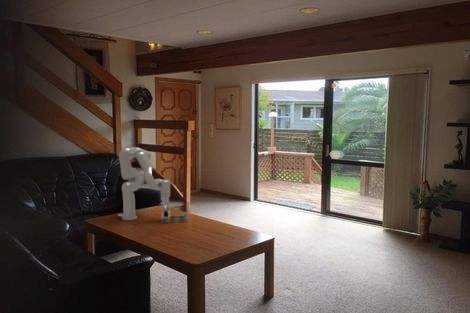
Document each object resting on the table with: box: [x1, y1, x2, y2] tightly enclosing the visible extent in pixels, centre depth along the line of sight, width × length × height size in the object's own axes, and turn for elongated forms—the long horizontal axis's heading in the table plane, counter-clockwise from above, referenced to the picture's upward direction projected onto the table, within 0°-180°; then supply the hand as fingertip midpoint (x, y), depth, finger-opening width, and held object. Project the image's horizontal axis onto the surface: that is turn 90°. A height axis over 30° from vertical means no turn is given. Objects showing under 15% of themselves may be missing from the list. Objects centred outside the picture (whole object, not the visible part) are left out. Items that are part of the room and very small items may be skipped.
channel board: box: [161, 212, 188, 224], centre depth 320 cm, size 20×12×6 cm, turn 100°
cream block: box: [161, 210, 171, 220], centre depth 319 cm, size 7×4×6 cm, turn 100°
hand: (166, 215), depth 319 cm, fingers open, 9 cm apart
